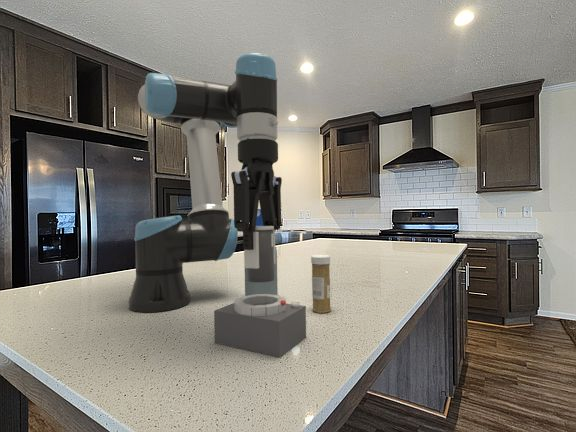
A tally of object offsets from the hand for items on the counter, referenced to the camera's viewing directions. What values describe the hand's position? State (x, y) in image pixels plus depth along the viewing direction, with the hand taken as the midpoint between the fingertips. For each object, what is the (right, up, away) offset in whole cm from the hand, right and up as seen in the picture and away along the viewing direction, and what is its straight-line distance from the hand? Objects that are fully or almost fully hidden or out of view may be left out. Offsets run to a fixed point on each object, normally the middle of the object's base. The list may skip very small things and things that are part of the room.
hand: (260, 265), depth 63 cm
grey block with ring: (0, -14, 0) cm, 14 cm away
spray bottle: (-2, -14, +29) cm, 33 cm away
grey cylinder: (0, -3, 0) cm, 3 cm away
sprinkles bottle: (+13, -14, +19) cm, 27 cm away
